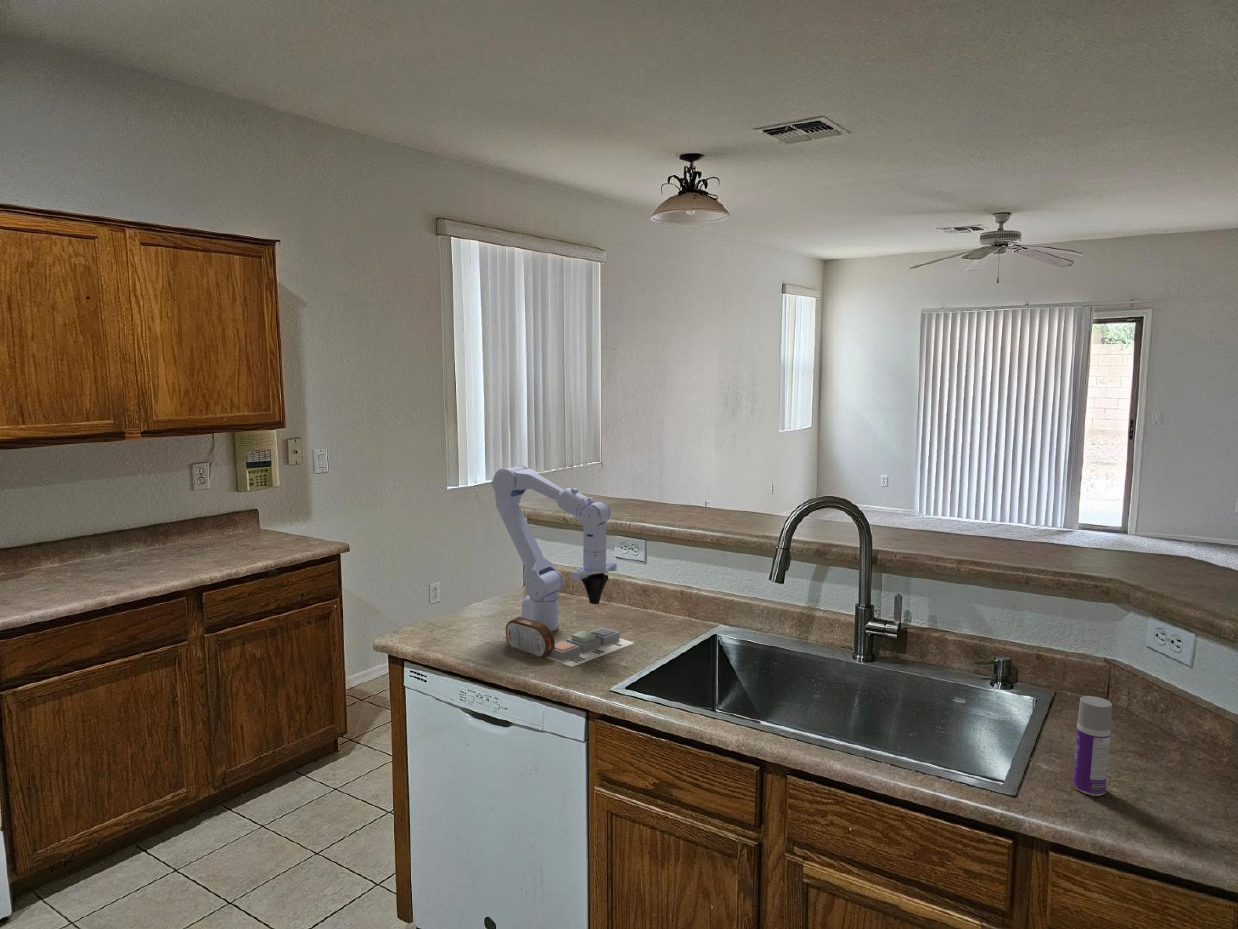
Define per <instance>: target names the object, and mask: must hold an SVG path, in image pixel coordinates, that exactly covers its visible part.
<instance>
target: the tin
mask: <svg viewBox="0 0 1238 929" xmlns="http://www.w3.org/2000/svg"><path fill="white" fill-rule="evenodd" d="M552 632H553V631H550V629H549V628H548V627H547V626H546V625H545V624H543V623H541V622H537V621H533V620H530V619H526V618H523V617H522V616H517V617H515V618H513V619H511V620H510V621H508V622H507V623H506V625H505V637H506V641H507V643H508V645H509V647H511V648H515V649H518V650H521V651H524V652H526V653H529V654H532V655H534V656H538V657H540V658H544V659H545V657H547V656H548V655H549V654H550V653H551V651H552V649H554V648H555V643H556V642H555V637H554V635H553V633H552Z"/></svg>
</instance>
